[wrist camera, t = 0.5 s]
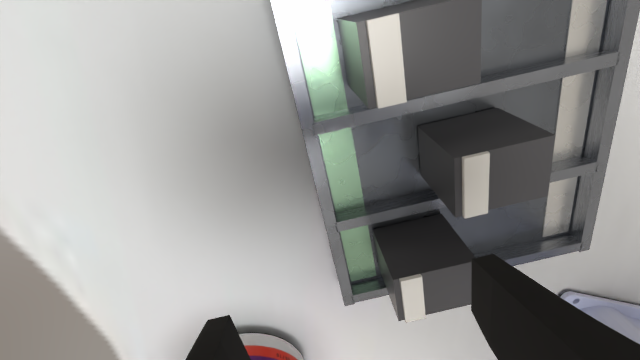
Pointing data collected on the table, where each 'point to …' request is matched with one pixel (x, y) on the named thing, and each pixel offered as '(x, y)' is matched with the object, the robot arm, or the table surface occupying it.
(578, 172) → the panel
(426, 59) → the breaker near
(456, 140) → the block
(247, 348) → the pill bottle
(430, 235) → the breaker far
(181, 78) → the table surface
